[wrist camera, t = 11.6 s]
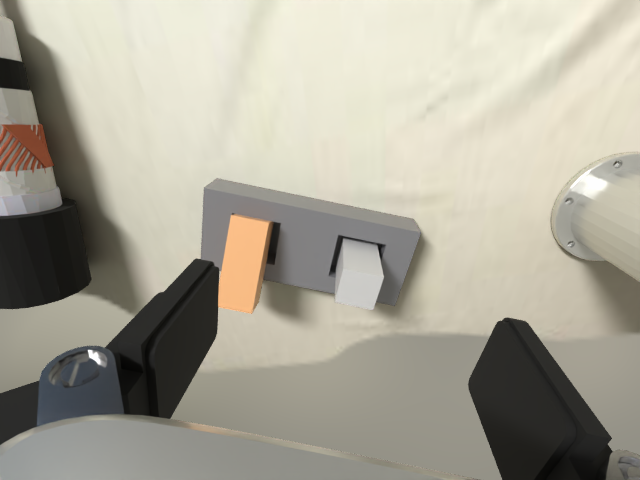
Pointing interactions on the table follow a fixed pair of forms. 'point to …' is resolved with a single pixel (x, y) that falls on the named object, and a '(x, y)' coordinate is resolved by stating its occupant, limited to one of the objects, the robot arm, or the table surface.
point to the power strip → (316, 242)
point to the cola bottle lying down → (32, 199)
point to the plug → (244, 263)
